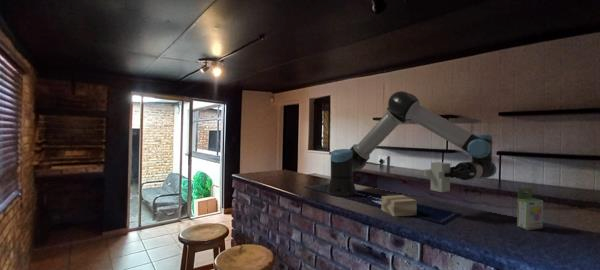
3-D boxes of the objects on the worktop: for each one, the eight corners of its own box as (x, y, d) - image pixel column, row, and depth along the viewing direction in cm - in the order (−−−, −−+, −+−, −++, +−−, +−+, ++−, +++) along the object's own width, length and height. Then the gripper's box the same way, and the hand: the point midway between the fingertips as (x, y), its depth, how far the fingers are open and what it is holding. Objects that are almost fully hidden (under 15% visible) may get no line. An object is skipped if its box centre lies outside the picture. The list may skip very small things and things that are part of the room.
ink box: (528, 230, 98) (528, 191, 97) (516, 226, 101) (517, 188, 101) (543, 228, 100) (543, 190, 99) (531, 225, 103) (531, 187, 103)
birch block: (381, 210, 123) (381, 196, 123) (402, 208, 126) (402, 195, 125) (394, 217, 114) (394, 201, 113) (416, 215, 116) (416, 200, 116)
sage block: (430, 189, 117) (430, 162, 117) (438, 188, 119) (439, 162, 119) (441, 192, 113) (442, 163, 112) (449, 191, 115) (450, 163, 115)
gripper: (489, 182, 116) (452, 187, 105) (448, 176, 132) (412, 180, 121) (490, 164, 116) (453, 167, 105) (448, 159, 132) (412, 162, 121)
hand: (431, 174), depth 113 cm, fingers closed on sage block, 5 cm apart
